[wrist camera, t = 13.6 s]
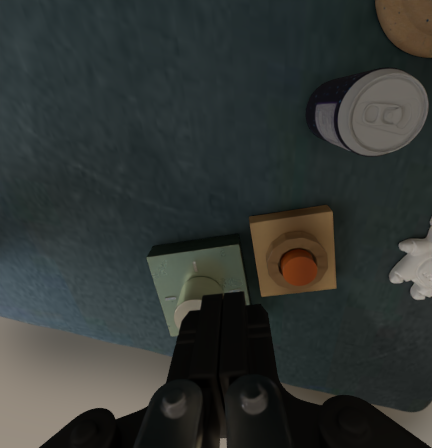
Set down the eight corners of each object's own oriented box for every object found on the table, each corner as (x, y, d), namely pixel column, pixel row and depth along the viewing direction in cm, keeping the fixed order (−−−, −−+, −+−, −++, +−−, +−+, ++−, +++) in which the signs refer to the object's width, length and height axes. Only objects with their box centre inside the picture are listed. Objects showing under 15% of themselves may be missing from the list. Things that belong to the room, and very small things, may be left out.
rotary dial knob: (176, 278, 35) (168, 303, 31) (219, 274, 35) (217, 299, 30) (185, 313, 37) (178, 342, 33) (226, 309, 37) (224, 338, 32)
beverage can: (353, 141, 31) (417, 163, 20) (299, 137, 31) (333, 156, 20) (368, 82, 29) (449, 68, 18) (309, 77, 29) (354, 61, 18)
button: (282, 279, 34) (284, 288, 32) (278, 251, 32) (280, 259, 31) (314, 275, 33) (318, 284, 32) (312, 246, 32) (316, 254, 30)
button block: (260, 287, 39) (262, 306, 35) (248, 216, 35) (250, 229, 31) (331, 278, 37) (341, 297, 34) (327, 204, 34) (338, 217, 30)
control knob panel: (175, 321, 42) (170, 337, 39) (152, 245, 37) (145, 258, 34) (252, 312, 40) (254, 329, 37) (239, 233, 36) (239, 245, 33)
